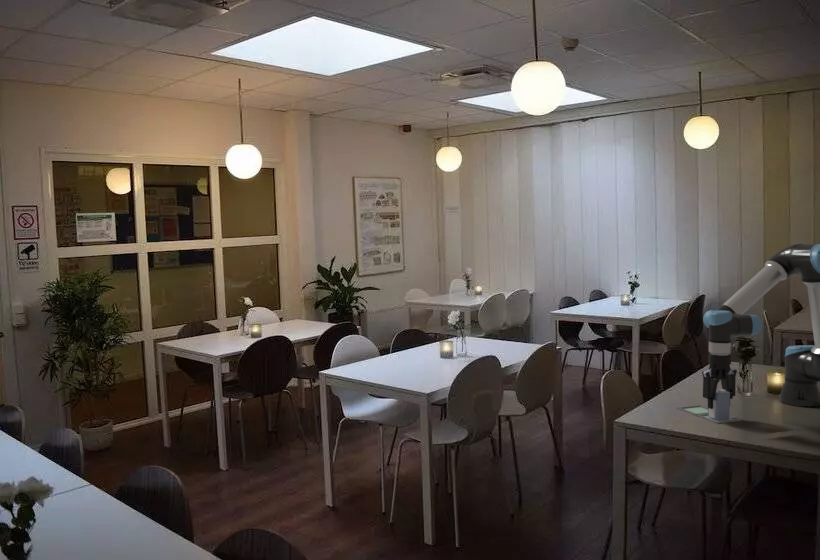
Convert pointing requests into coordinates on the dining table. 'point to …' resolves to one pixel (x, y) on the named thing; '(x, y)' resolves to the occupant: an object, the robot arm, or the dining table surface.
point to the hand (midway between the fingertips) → (718, 416)
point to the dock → (705, 413)
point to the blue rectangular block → (722, 405)
